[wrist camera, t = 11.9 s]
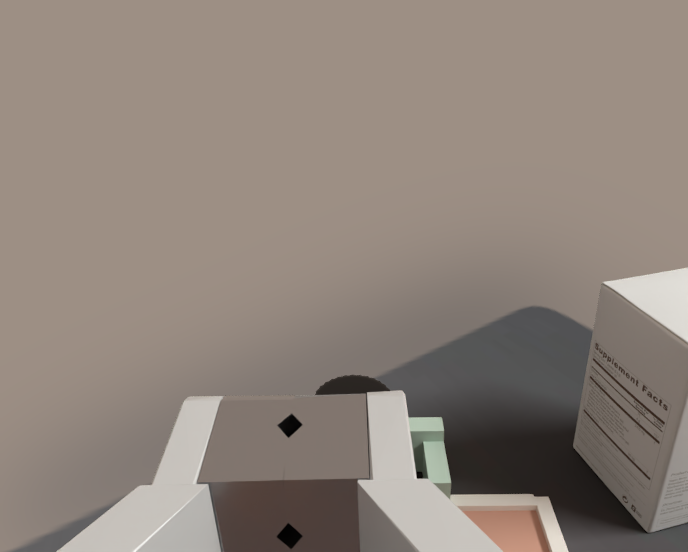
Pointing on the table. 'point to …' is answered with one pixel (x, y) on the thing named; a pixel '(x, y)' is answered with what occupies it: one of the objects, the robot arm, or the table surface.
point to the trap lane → (488, 499)
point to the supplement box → (640, 397)
